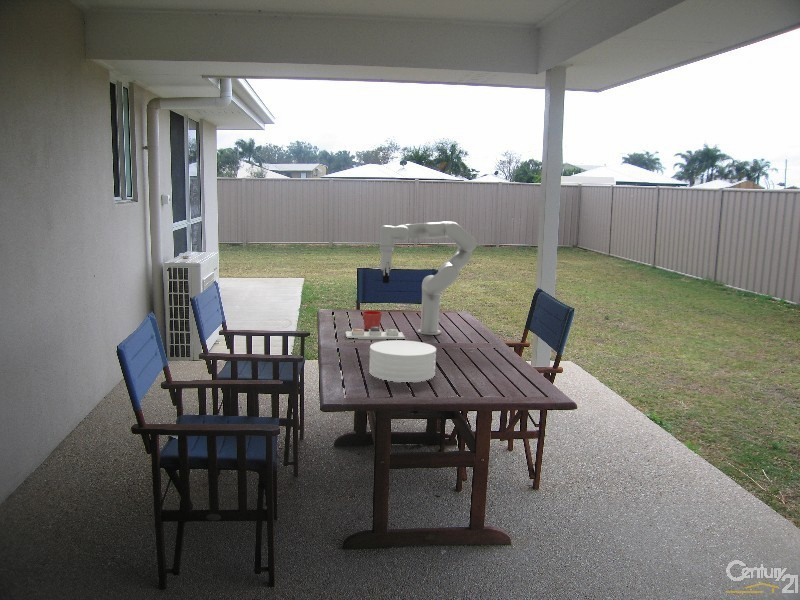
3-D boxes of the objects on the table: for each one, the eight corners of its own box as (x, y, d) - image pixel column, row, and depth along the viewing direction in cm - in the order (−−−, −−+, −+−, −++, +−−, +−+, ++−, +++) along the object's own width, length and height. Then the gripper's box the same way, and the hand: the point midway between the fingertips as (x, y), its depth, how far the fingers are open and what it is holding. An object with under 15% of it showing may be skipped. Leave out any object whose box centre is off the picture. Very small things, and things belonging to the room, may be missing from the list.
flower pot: (358, 330, 382) (359, 312, 380) (366, 326, 392) (366, 309, 390) (377, 332, 378) (377, 314, 377) (383, 328, 389) (384, 311, 387)
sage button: (387, 332, 369) (387, 329, 369) (395, 332, 370) (395, 329, 370) (388, 334, 365) (388, 330, 365) (396, 334, 366) (396, 330, 365)
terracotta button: (353, 332, 367) (353, 328, 367) (361, 332, 368) (361, 328, 367) (353, 334, 363) (353, 330, 362) (362, 334, 363) (362, 330, 363)
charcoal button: (370, 330, 368) (370, 326, 368) (378, 330, 369) (378, 326, 368) (371, 332, 364) (371, 328, 363) (379, 332, 364) (379, 328, 364)
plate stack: (376, 363, 313) (377, 338, 311) (438, 368, 308) (439, 343, 306) (362, 379, 286) (363, 352, 284) (430, 385, 281) (431, 357, 279)
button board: (345, 334, 371) (345, 327, 370) (401, 334, 374) (401, 328, 374) (346, 339, 359) (346, 332, 358) (404, 339, 363) (404, 333, 362)
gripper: (378, 247, 379) (377, 280, 381) (381, 249, 364) (380, 284, 367) (392, 247, 380) (390, 281, 383) (395, 250, 365) (394, 285, 368)
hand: (385, 282), depth 375 cm, fingers closed
